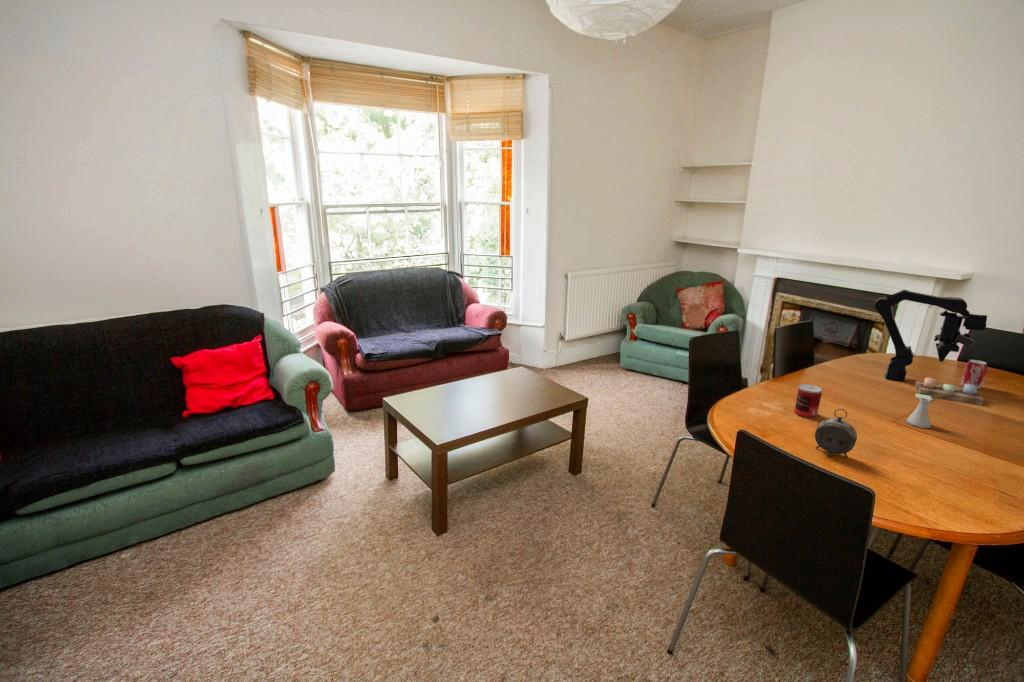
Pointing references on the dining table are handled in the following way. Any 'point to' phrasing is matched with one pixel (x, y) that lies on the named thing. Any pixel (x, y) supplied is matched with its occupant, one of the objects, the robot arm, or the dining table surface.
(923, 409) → the flask
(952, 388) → the sage button
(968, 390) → the grey rounded piece
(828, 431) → the alarm clock
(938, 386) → the button board
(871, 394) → the dining table surface
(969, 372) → the soda can
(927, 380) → the terracotta button
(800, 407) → the canned food
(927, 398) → the chip
